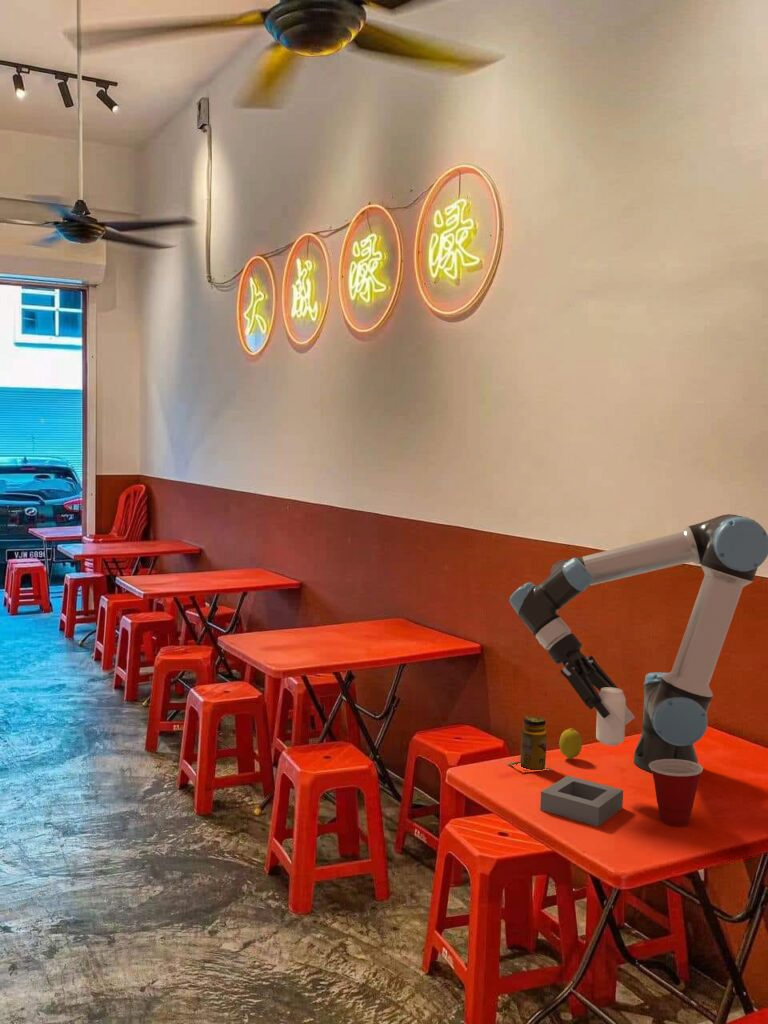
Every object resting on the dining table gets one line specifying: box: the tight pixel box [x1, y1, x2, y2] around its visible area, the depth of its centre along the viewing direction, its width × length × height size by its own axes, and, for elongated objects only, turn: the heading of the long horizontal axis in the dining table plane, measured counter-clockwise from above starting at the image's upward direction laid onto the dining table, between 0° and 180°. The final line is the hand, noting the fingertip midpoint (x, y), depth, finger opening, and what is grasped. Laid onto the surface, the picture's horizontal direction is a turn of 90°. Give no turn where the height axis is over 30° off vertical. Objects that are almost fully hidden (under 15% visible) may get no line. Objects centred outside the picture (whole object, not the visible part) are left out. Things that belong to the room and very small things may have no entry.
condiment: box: [506, 715, 553, 771], centre depth 213 cm, size 7×8×12 cm
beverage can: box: [595, 687, 627, 747], centre depth 197 cm, size 6×6×12 cm
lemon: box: [558, 727, 583, 760], centre depth 219 cm, size 6×6×8 cm
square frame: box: [539, 775, 624, 828], centre depth 187 cm, size 13×13×4 cm
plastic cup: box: [649, 759, 704, 827], centre depth 182 cm, size 11×11×12 cm
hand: (624, 724), depth 195 cm, fingers closed on beverage can, 6 cm apart
